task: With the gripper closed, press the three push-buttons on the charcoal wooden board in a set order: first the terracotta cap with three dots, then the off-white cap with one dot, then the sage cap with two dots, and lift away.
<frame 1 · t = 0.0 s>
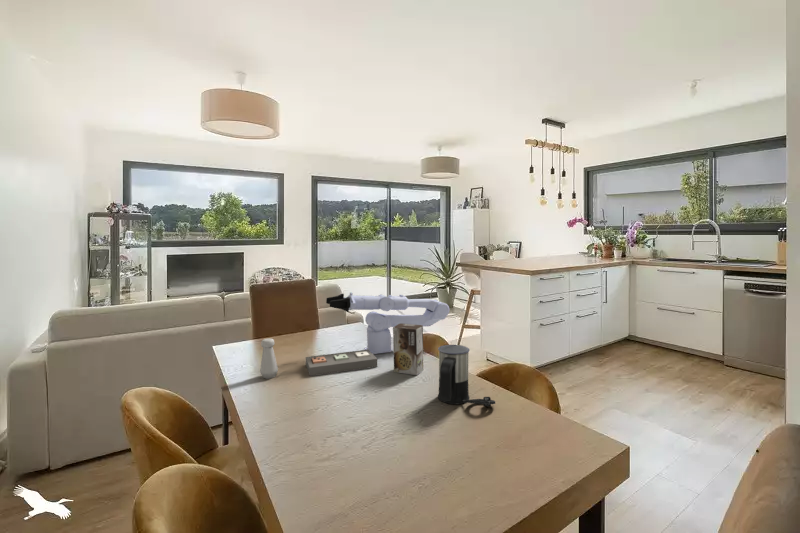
hand: (328, 302, 150), 22 cm above the table, tool horizontal, fingers open, 7 cm apart
button two: (341, 359, 141), point 3 cm above the table, slide at 0.0 cm
salt shaker: (269, 377, 132), on the table
button three: (318, 362, 139), point 2 cm above the table, slide at 0.0 cm
milk frother: (465, 402, 111), on the table
button one: (362, 356, 144), point 2 cm above the table, slide at 0.0 cm
printed cardboard box: (408, 371, 136), on the table
button board: (341, 365, 142), on the table
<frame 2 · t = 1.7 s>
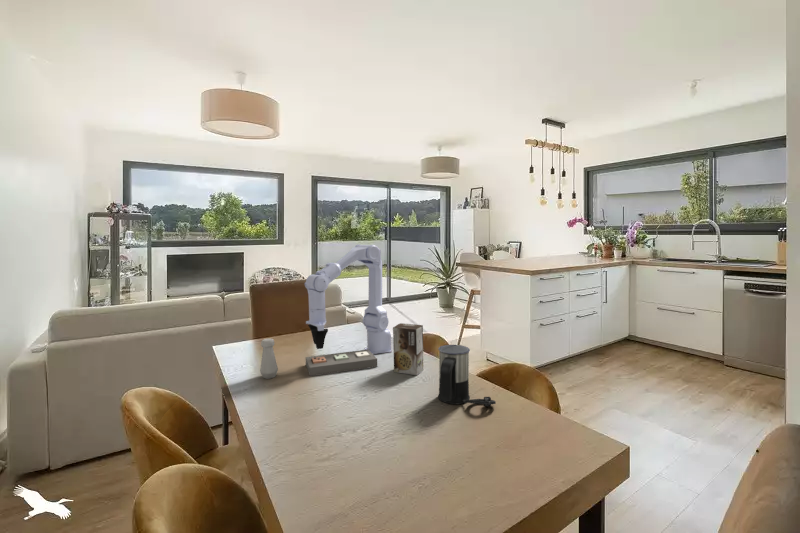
hand: (318, 345, 138), 8 cm above the table, tool pointing down, fingers open, 6 cm apart
nothing on the table moved.
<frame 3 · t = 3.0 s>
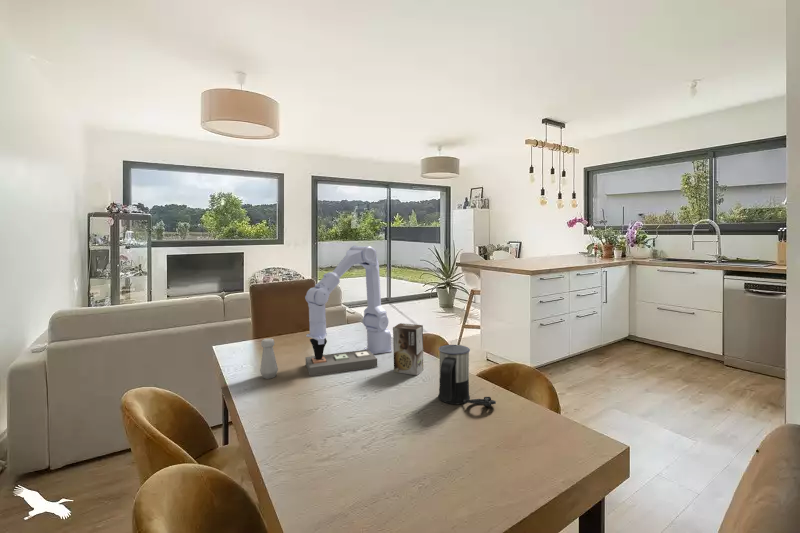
hand: (318, 358, 138), 4 cm above the table, tool pointing down, fingers closed, pressing on button three
button three: (318, 362, 139), point 2 cm above the table, slide at 0.1 cm, touching gripper
everything else where it was.
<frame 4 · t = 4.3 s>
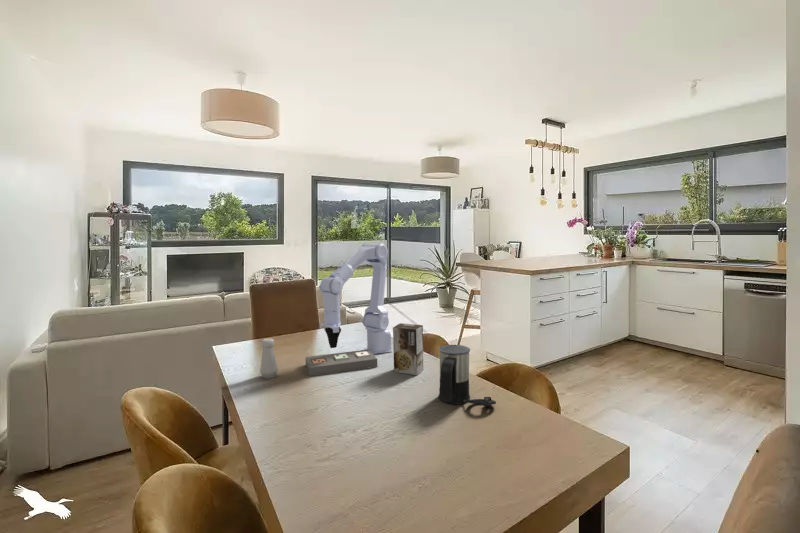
hand: (333, 347, 140), 7 cm above the table, tool pointing down, fingers closed
button three: (319, 364, 139), point 2 cm above the table, slide at 0.7 cm
everything else where it was.
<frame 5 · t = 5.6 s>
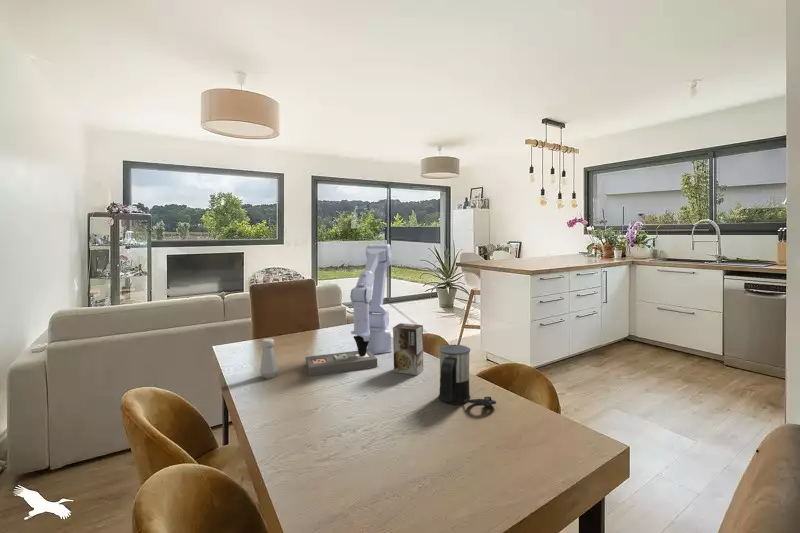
hand: (362, 355, 144), 3 cm above the table, tool pointing down, fingers closed, pressing on button one
button one: (362, 358, 144), point 2 cm above the table, slide at 0.7 cm, touching gripper
everything else where it was.
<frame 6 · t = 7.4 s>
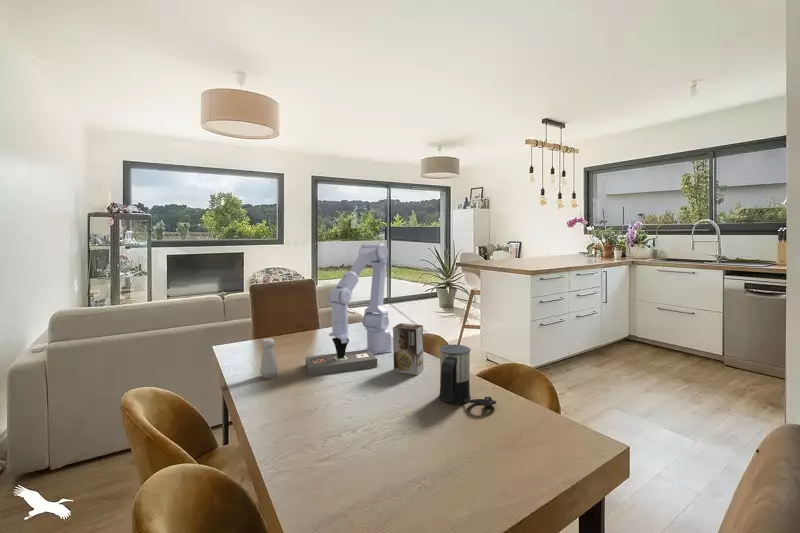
hand: (340, 357, 141), 3 cm above the table, tool pointing down, fingers closed, pressing on button two
button two: (341, 360, 141), point 2 cm above the table, slide at 0.6 cm, touching gripper
button one: (362, 358, 144), point 2 cm above the table, slide at 0.7 cm
everything else where it was.
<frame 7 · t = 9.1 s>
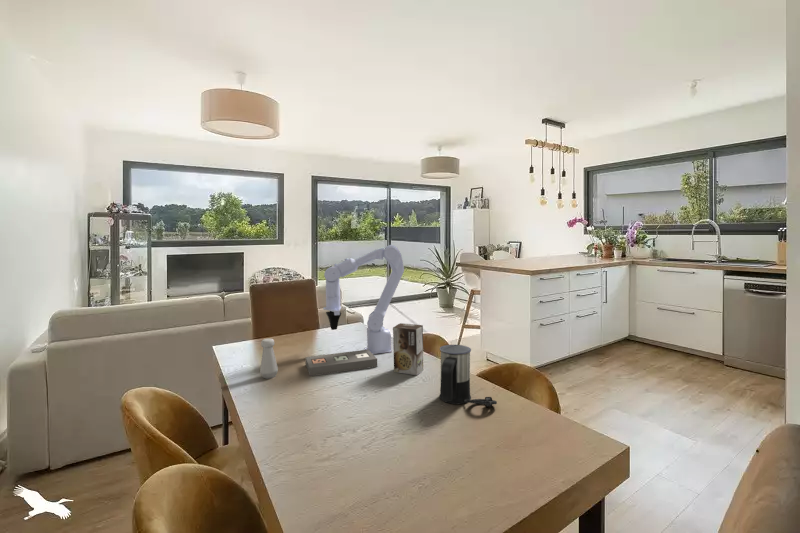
hand: (334, 329, 157), 9 cm above the table, tool pointing down, fingers closed
button two: (341, 361, 141), point 2 cm above the table, slide at 0.7 cm
everything else where it was.
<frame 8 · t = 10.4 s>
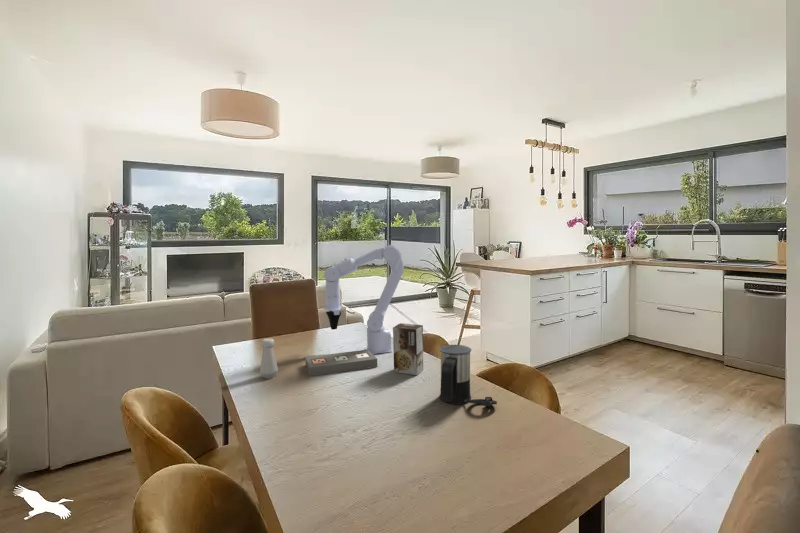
hand: (333, 329, 158), 9 cm above the table, tool pointing down, fingers closed
nothing on the table moved.
at the end: button three slide at 0.7 cm; button one slide at 0.7 cm; button two slide at 0.7 cm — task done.
